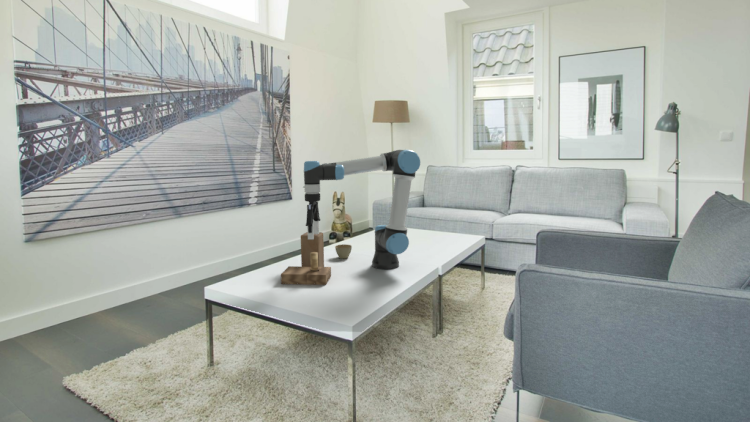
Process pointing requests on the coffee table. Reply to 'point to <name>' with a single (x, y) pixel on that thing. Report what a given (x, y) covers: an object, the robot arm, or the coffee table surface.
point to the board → (306, 276)
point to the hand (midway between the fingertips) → (313, 236)
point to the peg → (314, 261)
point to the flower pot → (343, 250)
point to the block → (312, 249)
